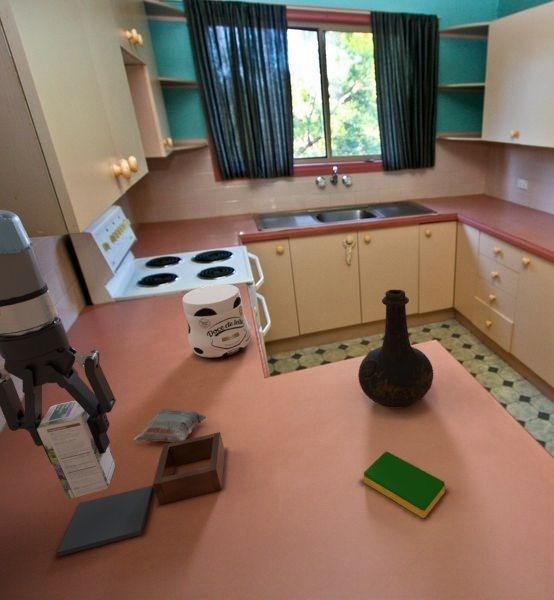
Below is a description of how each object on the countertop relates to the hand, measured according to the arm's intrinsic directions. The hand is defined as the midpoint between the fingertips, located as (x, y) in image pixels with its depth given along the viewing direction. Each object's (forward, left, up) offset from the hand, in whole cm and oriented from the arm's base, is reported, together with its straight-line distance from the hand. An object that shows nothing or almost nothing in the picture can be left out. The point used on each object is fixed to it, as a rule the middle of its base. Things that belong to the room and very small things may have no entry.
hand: (81, 452), depth 68 cm
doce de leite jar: (+15, +58, -16) cm, 62 cm away
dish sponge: (+51, -10, -16) cm, 54 cm away
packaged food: (+7, +20, -16) cm, 26 cm away
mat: (0, 0, -15) cm, 15 cm away
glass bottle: (+58, +17, -16) cm, 62 cm away
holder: (+13, +6, -15) cm, 21 cm away
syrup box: (0, 0, -7) cm, 7 cm away
